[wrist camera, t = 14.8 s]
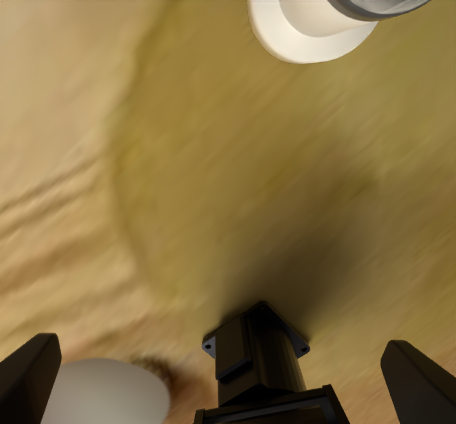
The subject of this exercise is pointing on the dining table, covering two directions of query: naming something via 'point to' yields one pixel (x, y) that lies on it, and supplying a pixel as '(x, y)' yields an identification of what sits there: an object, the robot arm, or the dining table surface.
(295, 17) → the plug
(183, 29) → the dining table surface
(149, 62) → the dining table surface
